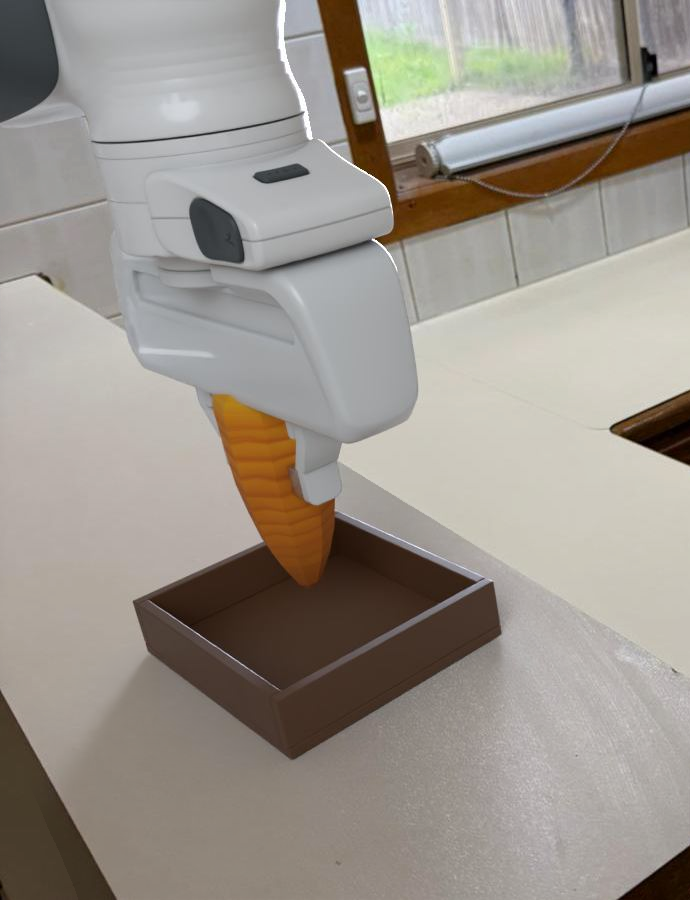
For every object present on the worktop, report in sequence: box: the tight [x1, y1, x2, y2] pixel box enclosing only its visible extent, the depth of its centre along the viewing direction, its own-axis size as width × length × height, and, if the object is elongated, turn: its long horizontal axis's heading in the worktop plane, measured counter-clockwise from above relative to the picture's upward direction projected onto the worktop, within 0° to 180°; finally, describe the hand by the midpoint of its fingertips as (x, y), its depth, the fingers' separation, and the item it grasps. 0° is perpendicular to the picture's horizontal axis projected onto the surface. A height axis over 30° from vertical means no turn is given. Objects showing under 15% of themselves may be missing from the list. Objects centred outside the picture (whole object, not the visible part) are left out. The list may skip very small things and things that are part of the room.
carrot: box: [213, 394, 336, 589], centre depth 54 cm, size 5×5×15 cm
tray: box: [132, 509, 502, 760], centre depth 58 cm, size 14×12×3 cm
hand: (285, 482), depth 55 cm, fingers closed on carrot, 5 cm apart
